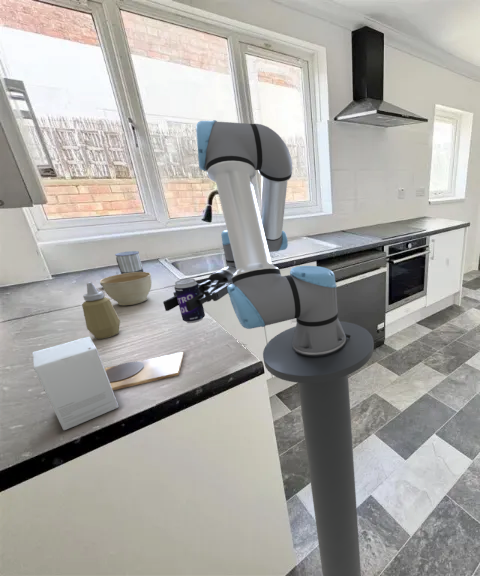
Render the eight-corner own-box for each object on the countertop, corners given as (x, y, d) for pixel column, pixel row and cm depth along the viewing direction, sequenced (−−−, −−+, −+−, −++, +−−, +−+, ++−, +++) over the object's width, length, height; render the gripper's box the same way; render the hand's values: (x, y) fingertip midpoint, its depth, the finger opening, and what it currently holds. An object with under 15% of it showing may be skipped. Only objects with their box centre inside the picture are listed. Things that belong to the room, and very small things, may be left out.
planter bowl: (158, 302, 127) (151, 277, 124) (107, 312, 118) (98, 285, 114) (155, 292, 139) (149, 269, 136) (109, 300, 130) (101, 276, 126)
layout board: (184, 353, 88) (183, 350, 88) (178, 375, 79) (177, 371, 78) (95, 372, 80) (93, 369, 80) (76, 399, 71) (75, 395, 70)
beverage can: (181, 320, 90) (170, 281, 86) (202, 314, 94) (193, 276, 90) (186, 326, 86) (176, 285, 82) (208, 319, 90) (199, 280, 86)
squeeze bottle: (92, 343, 95) (72, 288, 89) (89, 335, 100) (70, 283, 94) (125, 334, 101) (108, 282, 95) (121, 327, 106) (104, 277, 100)
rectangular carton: (111, 390, 73) (91, 334, 68) (119, 407, 67) (97, 347, 63) (58, 411, 67) (30, 351, 62) (62, 432, 61) (32, 367, 56)
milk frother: (151, 279, 158) (143, 251, 153) (122, 289, 143) (113, 258, 138) (127, 278, 160) (118, 250, 155) (96, 288, 145) (86, 258, 140)
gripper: (252, 290, 106) (212, 319, 84) (201, 290, 107) (148, 318, 85) (249, 269, 103) (206, 293, 81) (196, 269, 104) (140, 293, 83)
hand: (176, 306), depth 83 cm, fingers closed on beverage can, 6 cm apart
